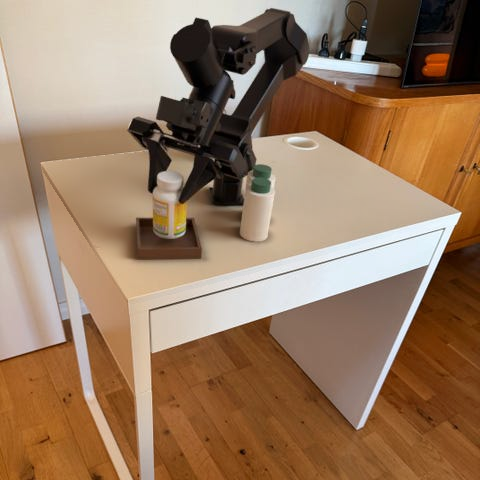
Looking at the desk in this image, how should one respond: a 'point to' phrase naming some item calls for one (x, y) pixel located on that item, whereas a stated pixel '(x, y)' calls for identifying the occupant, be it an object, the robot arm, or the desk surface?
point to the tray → (167, 242)
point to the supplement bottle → (169, 206)
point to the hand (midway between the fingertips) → (164, 197)
